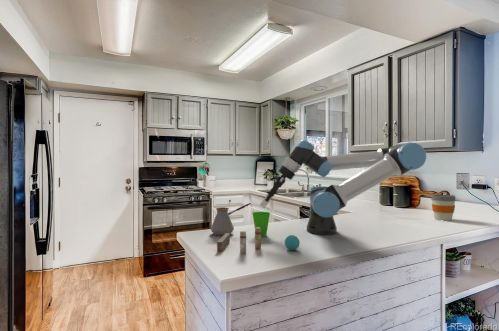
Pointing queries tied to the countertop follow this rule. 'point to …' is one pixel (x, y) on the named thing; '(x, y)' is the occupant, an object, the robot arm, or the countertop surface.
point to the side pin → (242, 242)
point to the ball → (292, 242)
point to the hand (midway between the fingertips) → (263, 204)
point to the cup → (261, 221)
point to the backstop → (223, 242)
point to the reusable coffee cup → (443, 206)
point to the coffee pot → (223, 221)
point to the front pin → (257, 238)
